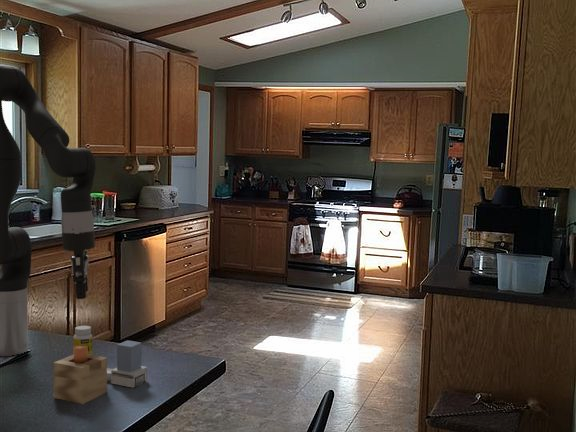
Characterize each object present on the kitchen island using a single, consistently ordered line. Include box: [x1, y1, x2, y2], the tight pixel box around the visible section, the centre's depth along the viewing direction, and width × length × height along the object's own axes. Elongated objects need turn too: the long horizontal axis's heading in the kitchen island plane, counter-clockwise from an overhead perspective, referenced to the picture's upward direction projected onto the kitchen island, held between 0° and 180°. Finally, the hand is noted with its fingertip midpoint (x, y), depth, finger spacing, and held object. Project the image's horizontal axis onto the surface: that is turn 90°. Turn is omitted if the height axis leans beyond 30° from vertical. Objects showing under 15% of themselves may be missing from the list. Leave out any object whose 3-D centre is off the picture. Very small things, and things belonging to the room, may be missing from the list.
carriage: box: [110, 340, 148, 388], centre depth 153 cm, size 6×6×9 cm
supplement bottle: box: [72, 325, 93, 355], centre depth 170 cm, size 5×5×8 cm
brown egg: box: [74, 346, 88, 363], centre depth 145 cm, size 3×3×3 cm
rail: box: [107, 367, 145, 388], centre depth 156 cm, size 18×3×2 cm, turn 68°
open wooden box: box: [53, 354, 108, 405], centre depth 145 cm, size 8×8×8 cm
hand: (82, 295), depth 161 cm, fingers open, 8 cm apart
